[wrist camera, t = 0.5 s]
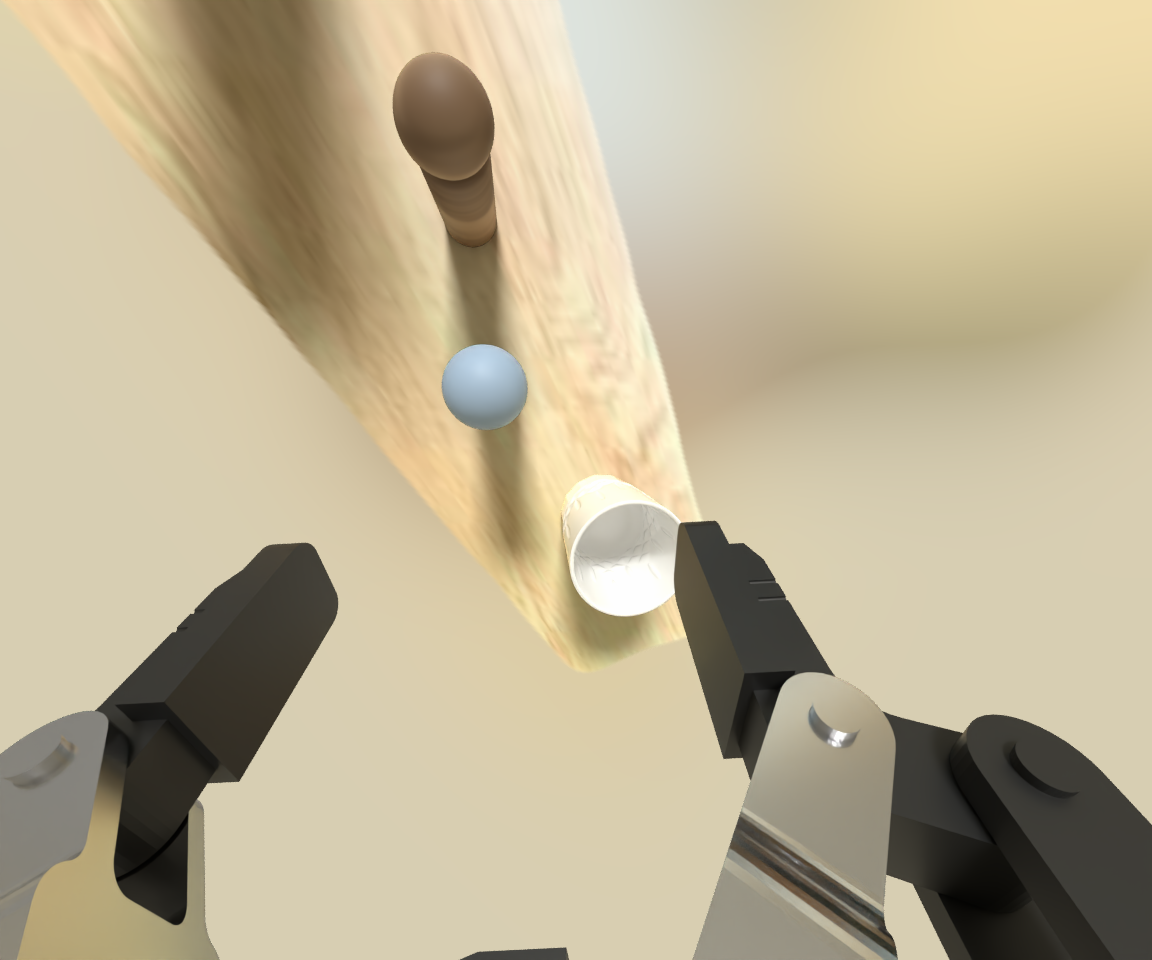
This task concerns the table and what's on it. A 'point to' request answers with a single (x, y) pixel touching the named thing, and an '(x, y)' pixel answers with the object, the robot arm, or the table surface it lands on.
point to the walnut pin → (450, 141)
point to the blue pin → (484, 387)
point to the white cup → (619, 546)
